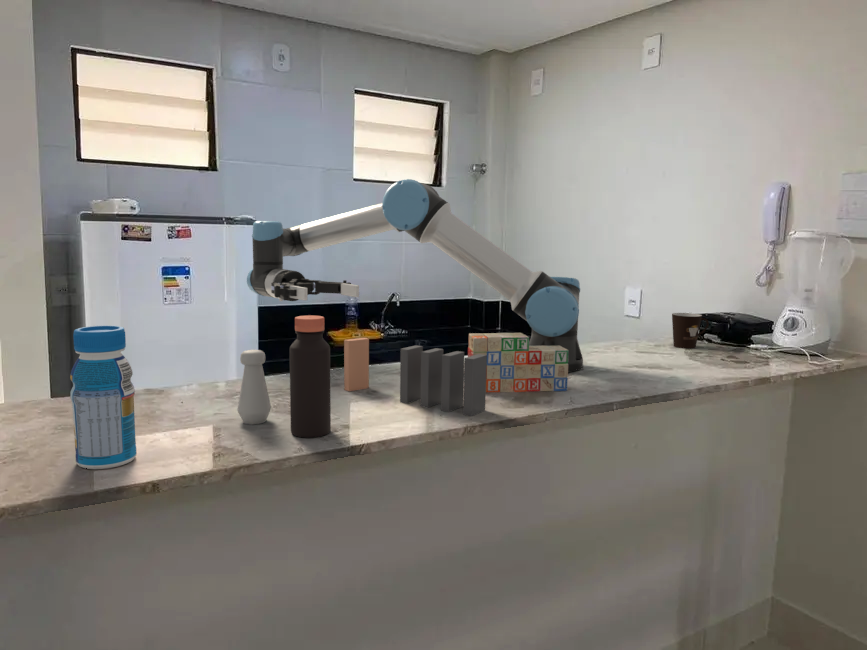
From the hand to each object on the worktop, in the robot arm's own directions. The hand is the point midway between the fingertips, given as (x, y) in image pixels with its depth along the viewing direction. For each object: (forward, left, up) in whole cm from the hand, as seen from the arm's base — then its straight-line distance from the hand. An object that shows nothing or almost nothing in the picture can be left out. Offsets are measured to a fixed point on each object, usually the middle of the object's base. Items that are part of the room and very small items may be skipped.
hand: (332, 292), depth 150 cm
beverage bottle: (+35, +48, -20) cm, 63 cm away
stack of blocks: (-40, +12, -21) cm, 47 cm away
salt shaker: (+15, +30, -20) cm, 40 cm away
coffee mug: (-110, -33, -20) cm, 116 cm away
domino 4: (-26, +30, -20) cm, 44 cm away
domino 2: (-19, +23, -20) cm, 36 cm away
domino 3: (-22, +26, -20) cm, 40 cm away
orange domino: (-5, +8, -20) cm, 22 cm away
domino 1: (-15, +19, -20) cm, 32 cm away
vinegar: (+5, +38, -20) cm, 44 cm away
